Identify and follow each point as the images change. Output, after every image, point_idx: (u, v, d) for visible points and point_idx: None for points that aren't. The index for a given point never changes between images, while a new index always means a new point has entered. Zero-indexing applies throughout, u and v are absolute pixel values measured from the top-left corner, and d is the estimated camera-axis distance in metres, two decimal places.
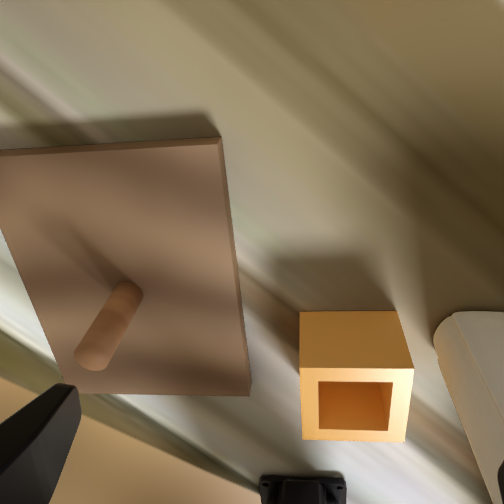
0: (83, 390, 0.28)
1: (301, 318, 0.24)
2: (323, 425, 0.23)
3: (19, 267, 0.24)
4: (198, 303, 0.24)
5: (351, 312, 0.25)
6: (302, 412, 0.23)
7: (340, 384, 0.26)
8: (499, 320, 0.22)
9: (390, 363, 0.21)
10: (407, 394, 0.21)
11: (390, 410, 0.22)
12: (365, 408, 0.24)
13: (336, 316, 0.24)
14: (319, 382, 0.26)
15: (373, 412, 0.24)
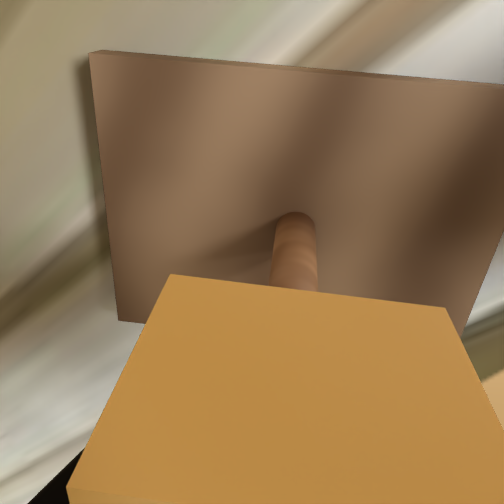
0: None
1: None
2: None
3: None
4: (327, 138, 0.16)
5: None
6: None
7: None
8: None
9: None
10: None
11: None
12: None
13: None
14: None
15: None
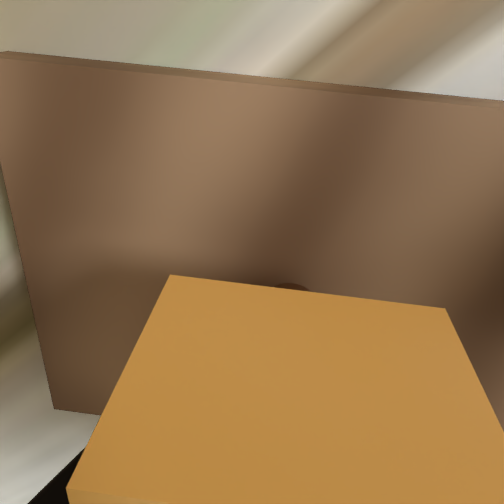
0: None
1: None
2: None
3: None
4: (336, 186, 0.11)
5: None
6: None
7: None
8: None
9: None
10: None
11: None
12: None
13: None
14: None
15: None
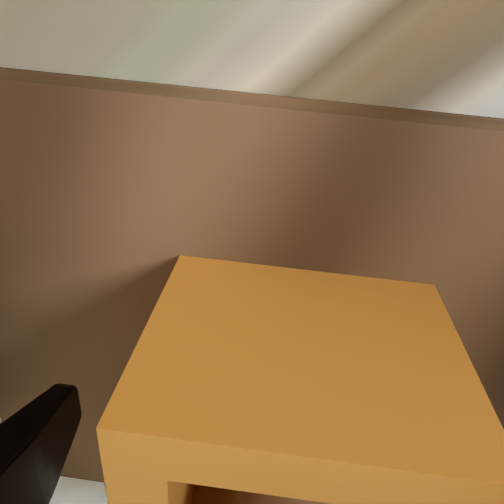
0: None
1: None
2: None
3: None
4: (346, 230, 0.09)
5: None
6: None
7: None
8: None
9: None
10: (230, 454, 0.05)
11: (319, 497, 0.06)
12: None
13: None
14: None
15: None
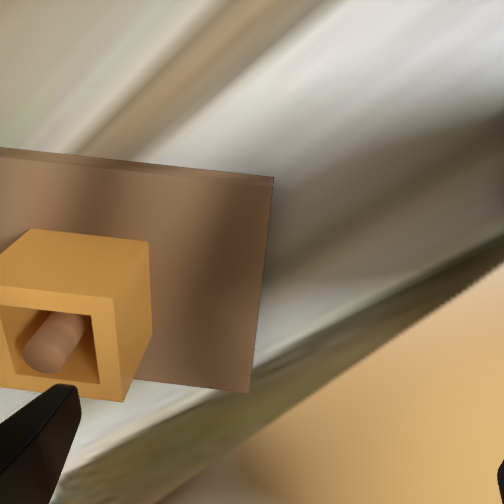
0: (246, 378, 0.23)
1: None
2: None
3: None
4: (102, 215, 0.19)
5: None
6: None
7: None
8: None
9: None
10: (14, 290, 0.16)
11: (51, 309, 0.16)
12: None
13: None
14: None
15: None
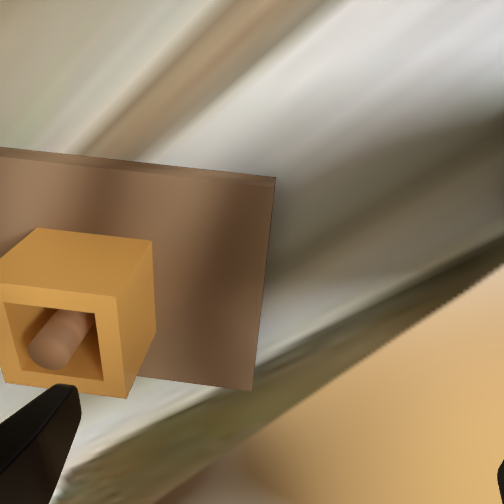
0: (248, 376, 0.23)
1: None
2: None
3: None
4: (106, 215, 0.19)
5: None
6: None
7: None
8: None
9: None
10: (20, 288, 0.16)
11: (56, 307, 0.17)
12: None
13: None
14: None
15: None
